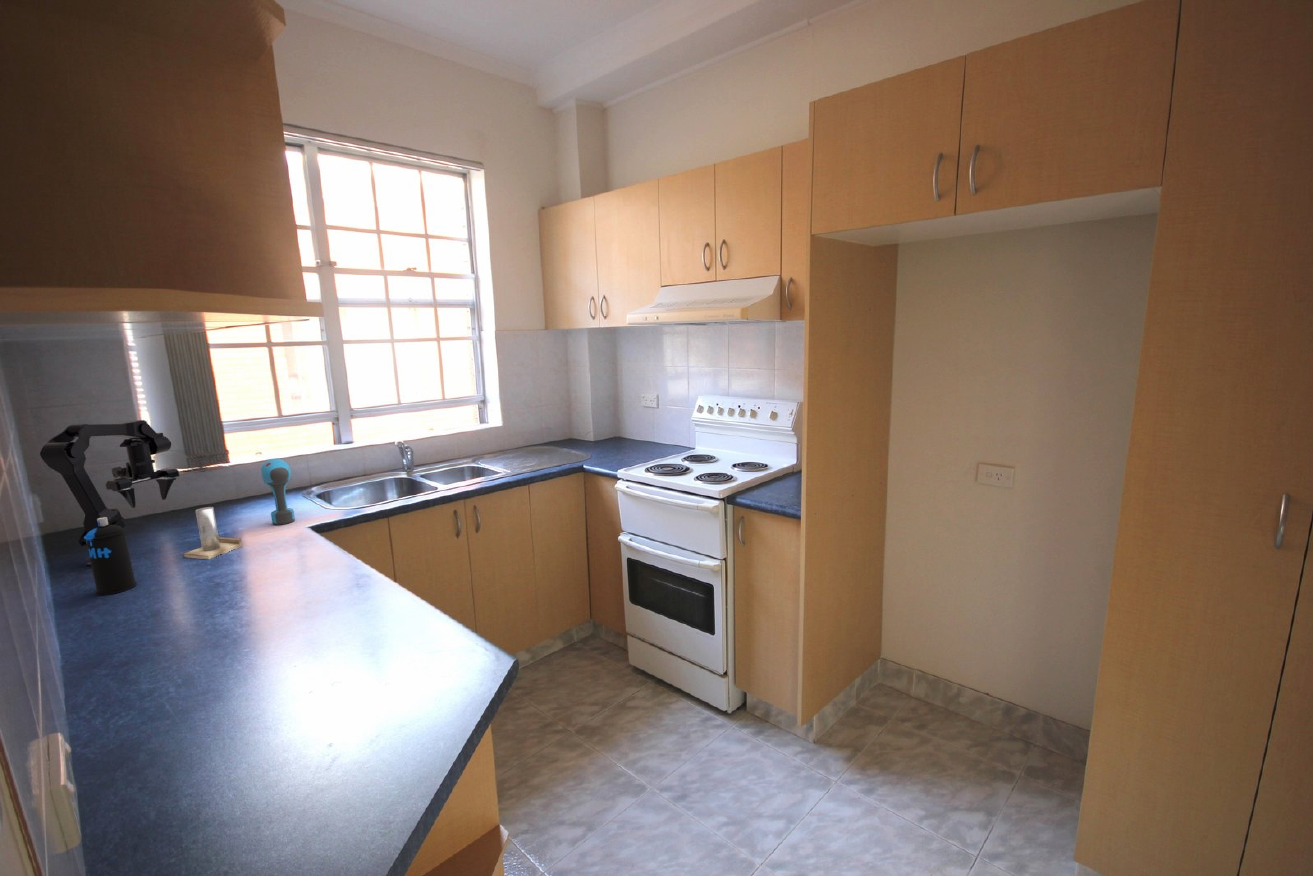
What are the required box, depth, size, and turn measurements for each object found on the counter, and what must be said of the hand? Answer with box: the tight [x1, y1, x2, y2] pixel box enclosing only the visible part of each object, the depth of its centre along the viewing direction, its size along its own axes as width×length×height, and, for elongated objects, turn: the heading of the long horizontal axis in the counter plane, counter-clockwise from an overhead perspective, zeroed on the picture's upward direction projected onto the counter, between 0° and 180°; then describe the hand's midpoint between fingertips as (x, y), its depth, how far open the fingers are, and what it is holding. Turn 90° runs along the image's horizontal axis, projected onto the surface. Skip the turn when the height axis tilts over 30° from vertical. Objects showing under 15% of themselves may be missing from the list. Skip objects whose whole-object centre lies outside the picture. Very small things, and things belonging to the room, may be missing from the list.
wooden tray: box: [183, 536, 244, 560], centre depth 184 cm, size 11×10×3 cm
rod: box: [195, 506, 220, 551], centre depth 182 cm, size 4×4×13 cm
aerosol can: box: [84, 517, 138, 596], centre depth 156 cm, size 8×8×20 cm
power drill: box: [260, 458, 296, 526], centre depth 214 cm, size 28×9×23 cm, turn 40°
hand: (149, 503), depth 194 cm, fingers open, 9 cm apart
